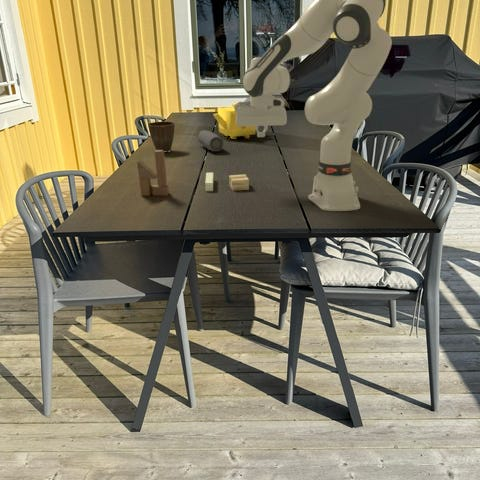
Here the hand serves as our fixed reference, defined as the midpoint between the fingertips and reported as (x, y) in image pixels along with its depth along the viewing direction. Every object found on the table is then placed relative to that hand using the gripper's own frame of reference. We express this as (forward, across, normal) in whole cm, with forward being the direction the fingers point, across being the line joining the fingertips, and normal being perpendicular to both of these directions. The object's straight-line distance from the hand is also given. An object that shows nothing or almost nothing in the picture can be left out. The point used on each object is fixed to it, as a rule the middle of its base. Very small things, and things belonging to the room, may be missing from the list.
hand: (261, 136), depth 173 cm
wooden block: (+21, -44, -6) cm, 49 cm away
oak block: (+21, -10, 0) cm, 23 cm away
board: (+21, -22, +4) cm, 31 cm away
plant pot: (+21, -50, +74) cm, 92 cm away
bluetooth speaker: (+21, -23, +76) cm, 82 cm away
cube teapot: (+21, -7, +110) cm, 112 cm away
